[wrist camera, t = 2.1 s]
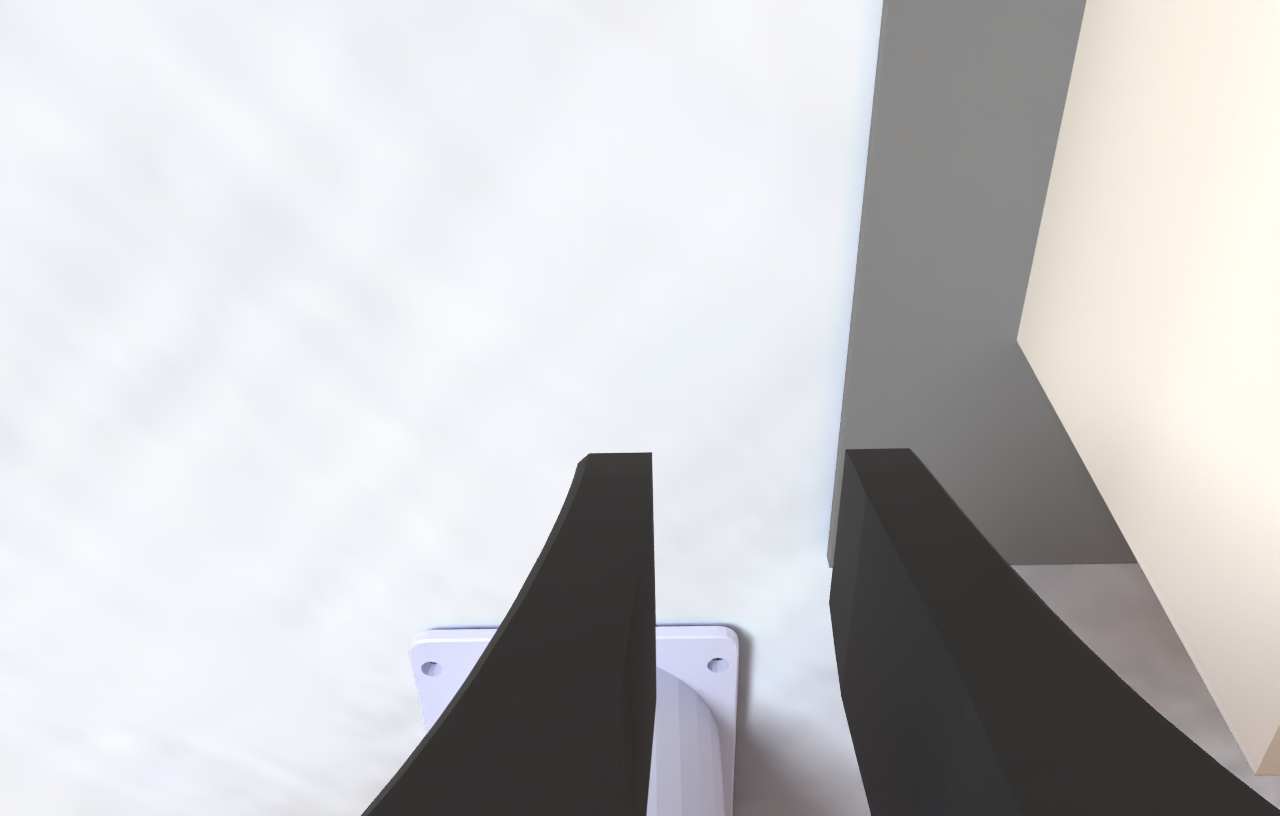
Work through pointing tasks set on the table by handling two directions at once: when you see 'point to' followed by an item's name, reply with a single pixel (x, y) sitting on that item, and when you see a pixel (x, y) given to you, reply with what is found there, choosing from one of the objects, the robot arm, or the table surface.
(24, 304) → the table surface
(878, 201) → the mat
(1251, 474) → the tile
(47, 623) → the table surface
